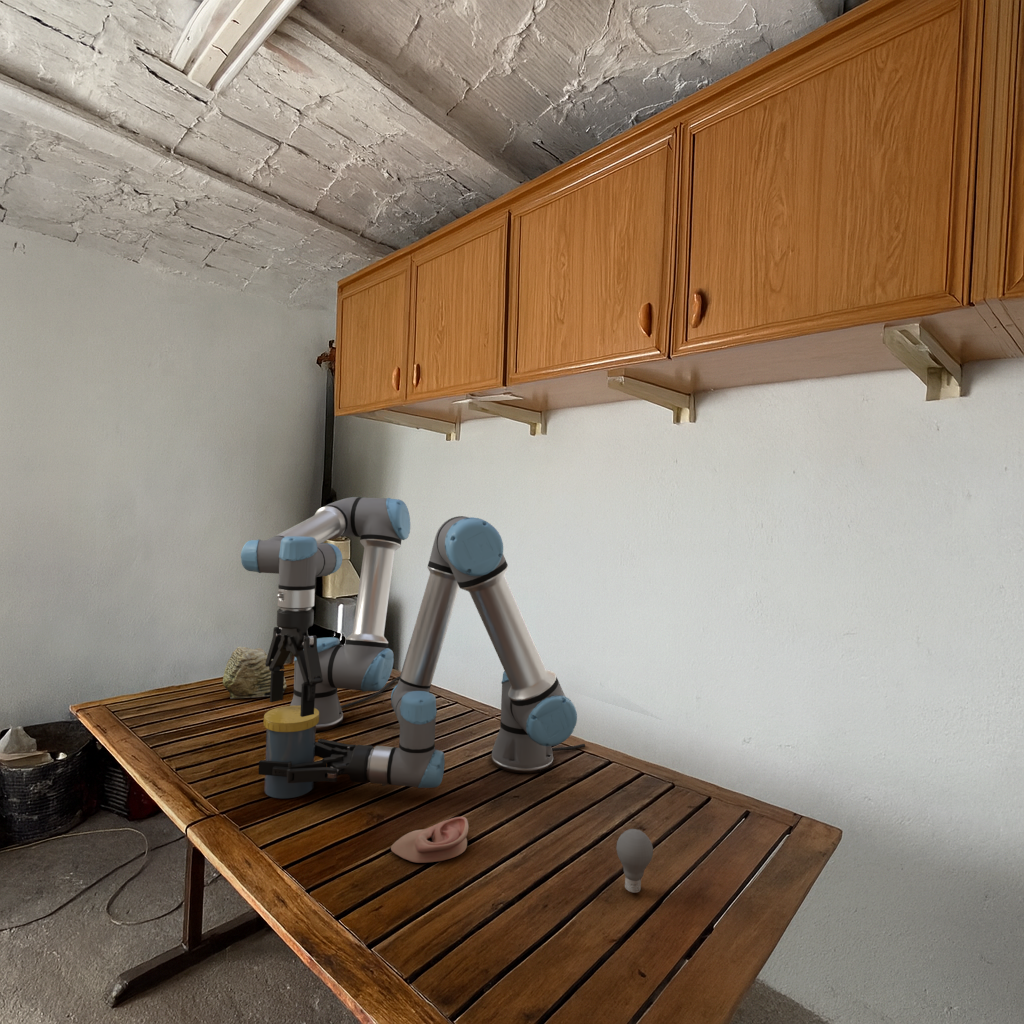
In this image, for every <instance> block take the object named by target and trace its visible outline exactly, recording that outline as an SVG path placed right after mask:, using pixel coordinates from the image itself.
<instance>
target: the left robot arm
mask: <svg viewBox="0 0 1024 1024" xmlns="http://www.w3.org/2000/svg"><path fill="white" fill-rule="evenodd" d="M410 533H411V517H410V512H409V508H408V505H407V504H406V502H404V501H403V500H402V499H397V498H391V497H360V496H352V497H351V496H350V497H346V498H343V499H339V500H335V501H334V502H330V503H328V504H326V505H324V506H321V507H320V508H318V509H317V510H316V512H315V513H314V515H313V516H310V517H309V518H307V519H305V520H303V521H301V522H299V523H297V524H295V525H293V526H291V527H290V528H287V529H285V530H284V531H282V532H280V533H277V534H276V535H274V536H272V537H270V538H268V539H250V540H248V541H246V542H245V543H244V545H243V546H242V548H241V550H240V551H241V552H240V560H241V566H242V567H243V569H245V570H246V571H247V572H253V573H257V574H278V586H277V587H278V590H277V594H276V597H277V607H279V608H278V609H277V611H276V626H274V627H273V630H272V631H273V632H272V639H271V642H270V645H269V649H268V653H267V655H268V656H267V659H266V663H265V665H266V667H268V666H269V670H270V671H271V685H270V696H269V702H270V703H275V702H279V701H283V700H284V692H283V686H284V677H285V663H286V662H287V660H288V657H289V656H290V654H291V653H292V655H293V657H294V659H293V661H294V672H293V695H292V696H293V697H292V699H291V702H290V704H289V706H301V713H300V716H301V717H304V716H309V715H313V714H314V708H316V709H317V710H318V711H319V722H318V724H317V725H316V733H317V732H325V731H329V730H332V729H335V728H337V727H339V726H340V725H342V723H343V722H344V713H343V709H345V708H349V707H351V706H354V705H357V704H360V703H363V702H366V701H369V700H372V699H374V698H376V697H378V696H379V695H380V694H382V693H383V692H384V691H386V690H387V689H388V688H389V687H390V686H391V685H392V684H394V683H396V682H398V681H399V679H400V675H399V676H396V677H395V678H393V679H391V680H390V681H389V679H390V677H391V675H392V671H393V668H394V661H395V659H394V656H395V655H394V652H393V650H392V649H391V648H389V641H388V640H387V638H386V637H385V628H386V621H387V613H388V607H389V606H388V605H389V597H390V590H391V584H392V583H391V582H392V574H393V566H394V561H395V560H394V559H395V553H396V551H398V549H400V548H401V547H402V541H405V540H407V539H408V538H409V537H410V536H409V535H410ZM340 537H355V538H359V543H360V544H361V546H362V547H363V548H364V549H363V556H362V563H361V570H360V576H359V584H358V590H357V598H356V604H355V605H356V606H355V611H354V620H353V625H352V632H351V634H349V635H348V636H347V637H346V638H345V643H344V644H340V643H341V641H340V639H339V638H338V637H334V636H331V637H330V636H329V637H318V636H317V635H315V634H314V635H309V632H308V630H309V628H311V627H312V626H313V625H314V619H315V618H314V617H315V616H314V615H315V610H314V609H313V608H314V607H315V597H316V596H315V595H316V578H320V577H328V576H330V575H332V574H335V573H337V571H338V570H340V568H341V566H342V564H343V554H342V551H341V549H340V548H339V547H338V546H337V545H336V544H333V543H330V542H326V541H328V540H335V539H338V538H340ZM271 659H272V661H271ZM388 681H389V682H388ZM338 689H342V690H351V691H359V692H360V691H361V692H375V693H373V694H371V695H369V696H367V697H363V698H360V699H358V700H355V701H352V702H349V703H346V704H345V703H344V704H341V702H340V699H339V695H338Z"/></svg>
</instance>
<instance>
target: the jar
mask: <svg viewBox="0 0 1024 1024" xmlns="http://www.w3.org/2000/svg"><path fill="white" fill-rule="evenodd" d="M265 732H266V733H265V734H266V736H265V759H264V761H278V762H290V761H291V762H292V765H294V764H301V763H308V762H316V761H315V759H316V756H315V742H316V735H317V734H316V733H317V732H316V725H315V726H314V727H312V728H309V729H306V730H302V731H296V732H276V731H271V730H268V729H266V731H265ZM314 783H315V782H300V783H288V782H287V777H284V776H271V775H264V786H263V789H264V790H263V791H264V794H265V795H267V796H268V797H270V798H274V799H293V798H297V797H302V796H304V795H306V794H308V793H309V792H310V791H312V790H313V789H314Z"/></svg>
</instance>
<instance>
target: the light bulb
mask: <svg viewBox="0 0 1024 1024" xmlns="http://www.w3.org/2000/svg"><path fill="white" fill-rule="evenodd" d="M615 849H616V854H617V857H618V859H619V861H620V863H621V865H622V867H623V873H624V874H623V875H624V876H625V878H624V888H625V890H627V891H628V892H630V893H634V894H635V893H639V892H640V891H641V889H642V887H641V886H642V879H643V877H644V875H645V871H646V868H647V867H648V866H649V864H650V863H651V861H652V859H653V855H654V847H653V843H652V841H651V838H649V836H648V835H647V834H646V833H645V832H643V831H642V830H641V829H636V828H629V829H627V830H625V831H623V832H622V833H621V834H620V835H619V837H618V839H617V841H616V847H615Z"/></svg>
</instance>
